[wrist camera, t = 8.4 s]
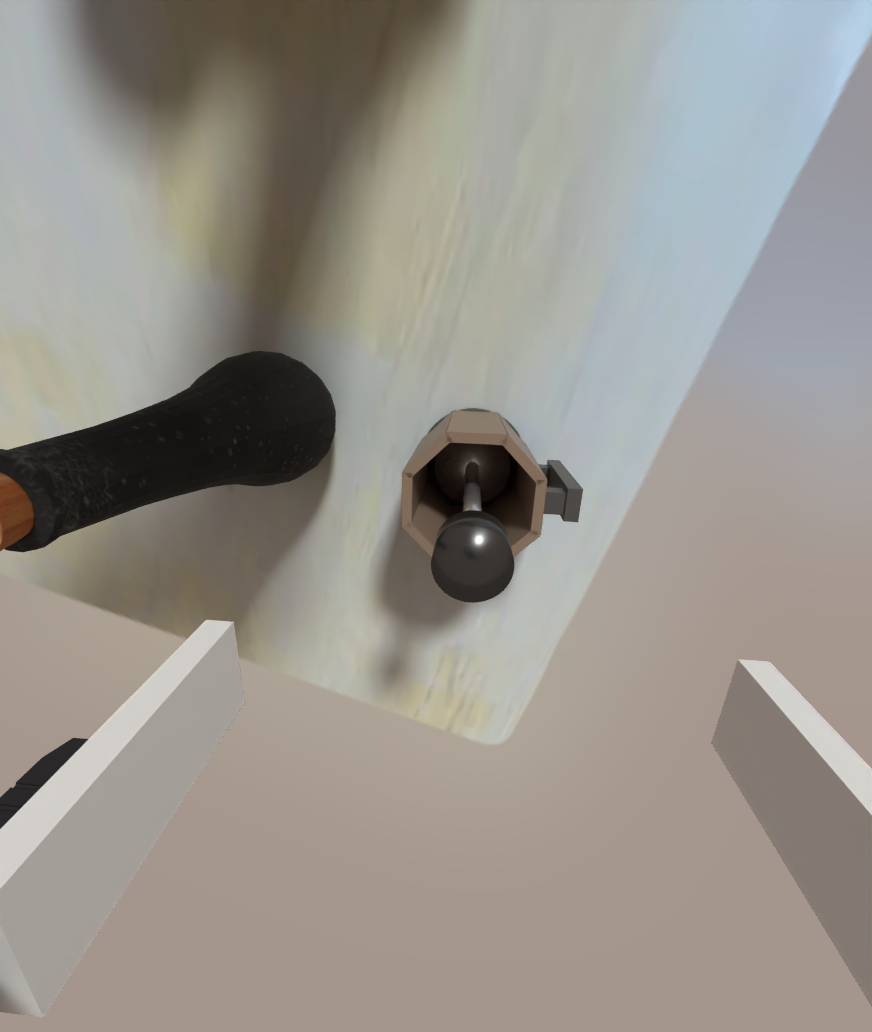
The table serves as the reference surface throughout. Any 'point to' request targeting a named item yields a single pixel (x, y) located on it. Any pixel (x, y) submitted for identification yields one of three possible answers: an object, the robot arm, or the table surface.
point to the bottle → (170, 449)
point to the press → (514, 506)
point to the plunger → (472, 523)
